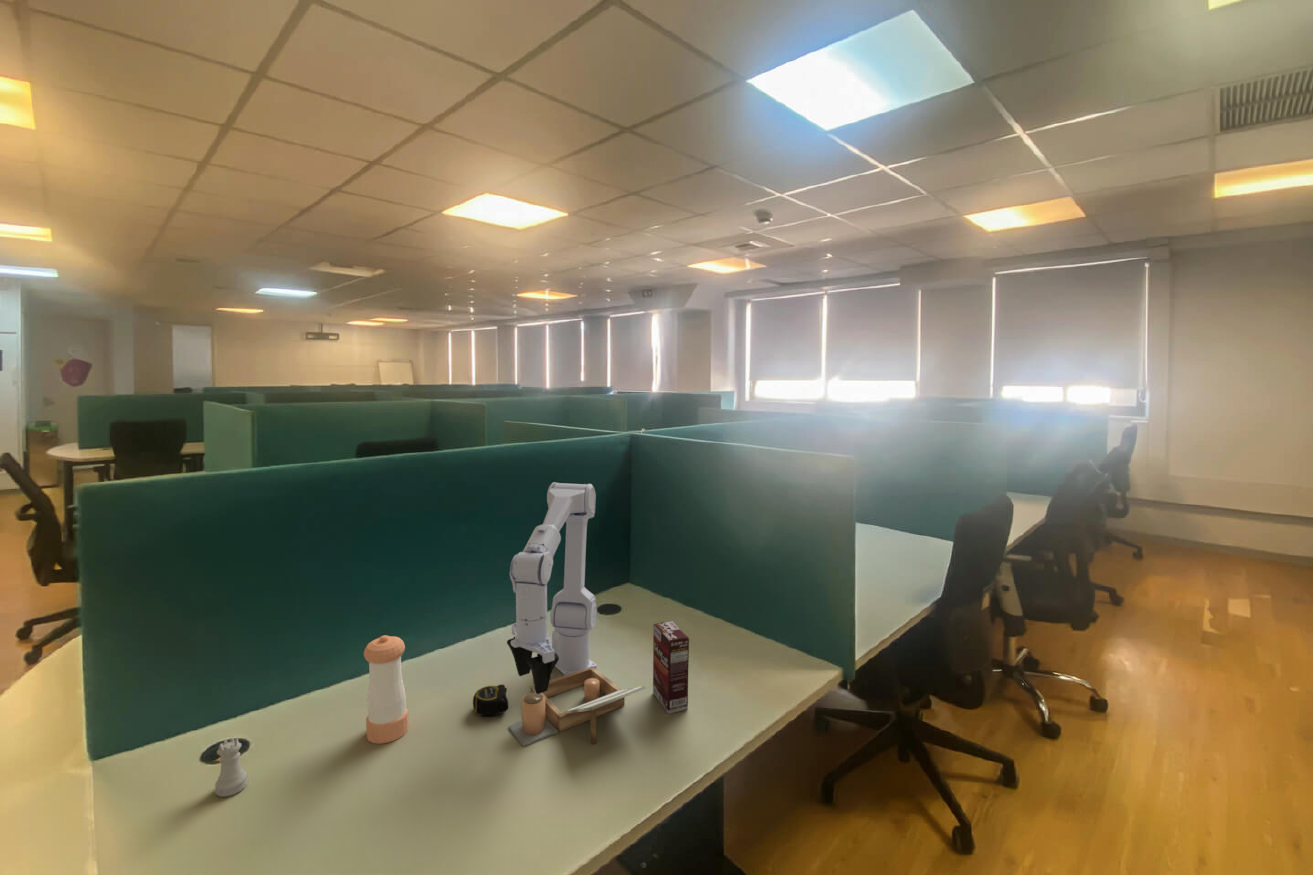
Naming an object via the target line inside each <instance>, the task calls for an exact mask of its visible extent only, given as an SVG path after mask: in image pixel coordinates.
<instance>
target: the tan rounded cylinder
mask: <svg viewBox="0 0 1313 875" xmlns="http://www.w3.org/2000/svg"><path fill="white" fill-rule="evenodd" d="M583 688H584V689H583V693H584V694H583V696H584V697H583V699H584V700H585V701H586V702H590V701H593V700H595V699H598V698H600V689H599V680H598V679H595V678H590V679H587V680H585V682H584V687H583Z"/></svg>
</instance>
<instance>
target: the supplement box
mask: <svg viewBox="0 0 1313 875" xmlns="http://www.w3.org/2000/svg"><path fill="white" fill-rule="evenodd" d="M652 639H653V645H652V646H653V648H652V652H653V655H652V656H653V657H652V659H653V660H652V661H653V662H652V669H653V670H652V693H653V695H654V696H655V697H656V698H657V700H658V701H659V703H660V704H661V705H662V707H663V709H664V710H665V711H666V714H668V715H669V714H674V713H678V712H682V711H686V710H688V707H689V706H688V704H689V695H688V694H689V662H690V661H689V655H690V637H689V636H688V635H686V634H685V633H684V632H683V631H682V629H680V628H679V627H678V626H677V624H675V622H674V621H673V620H670V621H669V620H668V621H662V622H658V623H654V624H653V638H652Z"/></svg>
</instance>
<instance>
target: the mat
mask: <svg viewBox="0 0 1313 875" xmlns="http://www.w3.org/2000/svg"><path fill="white" fill-rule="evenodd" d="M508 729H509V731H510V732H511V733H512V734H513V736H515V738H516V739H517V741H519V743H520V744H521V746H523V747H527V746H529V745H531V744H534V743H535V742H538V741H541V740H543V739H546V738H548V737H551V736H553V735H556V734H558V733H559V732H558V731H559V730H558V729H557V728H556V727H555V726H554V725H553V724H552V723H551V722H550V720H549V719H548V718H547V717H545V730H544V731H543V732H541V733H540V734H537V735H527V734H525V733H524V732H523V731H522V720H521V721H517V722H515V723H512V724H510V725H508Z"/></svg>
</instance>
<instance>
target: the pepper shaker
mask: <svg viewBox="0 0 1313 875" xmlns="http://www.w3.org/2000/svg"><path fill="white" fill-rule="evenodd" d="M405 648H406V645H405V643H404V640H402V639H401V638H400V637H398V636H394V635H393V636H392V635H391V636H390V635H387V634H386V635H385V634H384V635H382V636H379V637H378V638H376V639H373V640H372V641H370V642H369V643H368V644H367V645H366V646H365V648H364V651H363V657H364V659H365V660H366V661H367V663H368V666H369V667H368V669H369V671H368V672H369V673H368V674H369V684H368V692H367V699H366V703H367V704H366V705H367V717H366V719H365V726H366V739H367V740H368V741H369V742H371V743H373V744H381V745H382V744H388V743H390V742H394V741H396V740H399V739H401V738H402V737H403V736H405V735H406V733H407V732H408V730H409V727H410V726H409V724H410V723H409V710H408V708H407V704H406V703H407V702H406V701H407V698H406V696H407V695H406V689H405V685H404V682H403V680H404V679H403V675H402V656H403V654H404V653H405Z"/></svg>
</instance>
